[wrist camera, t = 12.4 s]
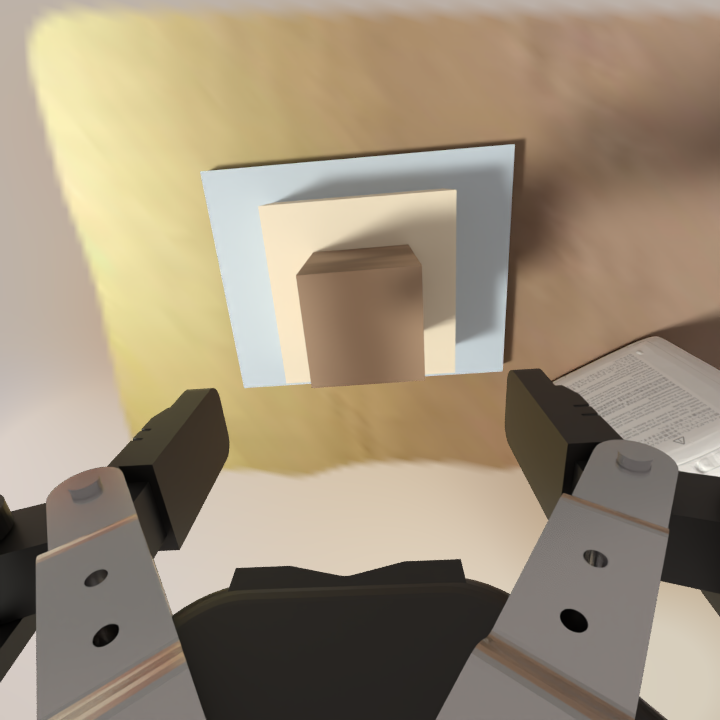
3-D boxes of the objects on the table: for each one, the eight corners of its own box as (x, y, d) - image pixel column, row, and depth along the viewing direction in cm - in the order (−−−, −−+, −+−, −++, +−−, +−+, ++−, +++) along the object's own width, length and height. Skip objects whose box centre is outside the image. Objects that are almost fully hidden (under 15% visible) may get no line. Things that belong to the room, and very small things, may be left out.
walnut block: (408, 244, 22) (422, 265, 17) (411, 334, 24) (425, 380, 19) (313, 252, 23) (295, 275, 17) (324, 341, 24) (311, 388, 19)
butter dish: (509, 145, 25) (541, 137, 20) (498, 365, 30) (521, 398, 26) (206, 171, 26) (171, 169, 21) (247, 381, 31) (227, 416, 27)
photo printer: (539, 437, 33) (632, 575, 21) (516, 394, 31) (602, 517, 20) (676, 373, 30) (861, 489, 19) (658, 324, 29) (845, 417, 18)
